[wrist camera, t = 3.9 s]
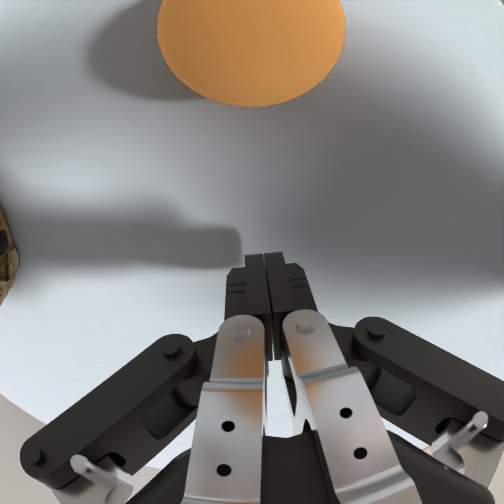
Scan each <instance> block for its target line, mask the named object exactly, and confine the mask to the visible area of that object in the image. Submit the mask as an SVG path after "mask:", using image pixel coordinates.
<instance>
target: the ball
mask: <svg viewBox="0 0 504 504" xmlns="http://www.w3.org/2000/svg"><path fill="white" fill-rule="evenodd" d="M345 33H346V24H345V16H344V11H343V8H342V5H341V3H340V0H163V1H162V4H161V6H160V10H159V14H158V19H157V38H158V43H159V47H160V50H161V53H162V55H163V58H164V60H165V62H166V64H167V65H168V67H169V68H170V69H171V71H172V72H173V73H174V74H175V75H176V77H177V78H178V79H179V80H180V81H181V82H183V83H184V84H185V85H186V86H188V87H189V88H190V89H192V90H193V91H195V92H196V93H198V94H200V95H202V96H204V97H206V98H208V99H210V100H213V101H216V102H219V103H223V104H227V105H232V106H240V107H262V106H271V105H275V104H280V103H283V102H286V101H289V100H292V99H294V98H296V97H298V96H300V95H302V94H304V93H306V92H307V91H309V90H311V89H312V88H314V87H315V86H316V85H317V84H319V83H320V82H321V81H322V80H323V79H324V78H325V77H326V76H327V75H328V74H329V73H330V71H331V70H332V68H333V67H334V65H335V64H336V62H337V61H338V58H339V56H340V54H341V52H342V49H343V45H344V41H345Z"/></svg>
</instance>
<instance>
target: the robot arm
mask: <svg viewBox="0 0 504 504" xmlns="http://www.w3.org/2000/svg"><path fill="white" fill-rule="evenodd" d="M264 264H265V266H264ZM272 344H273V352H274V360H281V363H282V379H283V384H284V388H285V392H286V396H287V400H288V405H289V409H290V413H291V417H292V422H293V432H294V436H293V437H289V438H280V437H272V436H267V377H268V374H269V367H268V361H273V354H272ZM385 371H386V372H385ZM390 374H391V375H390ZM397 378H398V379H397ZM404 382H405V383H404ZM409 385H410V386H409ZM380 416H381V417H383V418H384V419H386V420H387V421H389V422H391V423H392V424H394V425H396V426H397V427H399V428H401V429H402V430H404V431H406V432H407V433H409V434H411V435H413V436H414V437H416V438H418V439H419V440H421V441H423V442H425V443H426V444H428V445H430V446H432V447H431V451H432V455H431V456H430V455H429V454H427V453H425V452H424V451H422V450H421V449H419V448H417V447H416V446H414V445H413V444H411V443H410V442H408V441H406V440H405V439H403V438H402V437H400V436H399V435H397V434H395V433H393V432H391V431H389V430H386V429H385V426H384V424H383V421H382V419H381V417H380ZM195 419H196V424H195V430H194V436H193V442H192V448H190V449H188V450H186V451H184V452H183V453H181V454H179V455H178V456H177V457H175V458H174V459H173V460H172V461H171V462H170V463H169V464H168V465H167V466H166V467H165V468H163V469H162V470H161V471H160V472H159V473H158V474H157V475H156V476H155V477H154V478H153V479H152V480H151V481H150V482H149V483H148V484H147V485H145V486H144V487H143V488H142V489H141V490H140V491H139V492H138V493H137V494H135V496H133V497H132V498H131V499H130V500H129V501H127V502H126V503H125V501H126V500H127V499H128V498H129V497H130V495H131V494H132V491H133V480H132V477H131V476H132V475H134V474H135V473H136V472H137V471H138V470H140V469H141V468H142V467H143V466H144V465H146V464H147V463H148V462H149V461H150V460H151V459H152V458H154V457H155V456H156V455H157V454H158V453H159V452H160V451H162V450H163V449H164V448H165V447H166V446H167V445H168V444H169V443H170V442H171V441H173V440H174V439H175V438H176V437H177V436H178V435H179V434H180V433H181V432H182V431H183V430H184V429H185V428H186V427H188V426H189V425H190V424H191V423H192V422H193V421H194V420H195ZM503 451H504V381H502V380H500V379H499V378H497V377H495V376H493V375H491V374H489V373H487V372H485V371H483V370H481V369H479V368H478V367H476V366H474V365H472V364H470V363H468V362H466V361H464V360H462V359H460V358H458V357H457V356H455V355H453V354H451V353H449V352H447V351H445V350H443V349H441V348H439V347H437V346H436V345H434V344H432V343H430V342H428V341H426V340H424V339H422V338H420V337H418V336H416V335H414V334H413V333H411V332H409V331H407V330H405V329H403V328H401V327H399V326H397V325H395V324H393V323H391V322H390V321H388V320H386V319H383V318H380V317H366V318H364V319H362V320H360V321H359V322H358V323H357V324H356V326H355V328H352V327H342V326H336V325H333V324H331V323H328V322H327V320H326V318H325V317H324V316H323V315H322V314H320V313H319V312H318V310H317V307H316V304H315V301H314V298H313V295H312V292H311V289H310V287H309V283H308V280H307V277H306V275H305V272H304V269H302V268H301V267H300V266H299V265H298V264H297V263H291V264H285V260H284V257H283V253H282V252H275V253H264V259H263V254H251V255H245V267H243V268H232V270H231V271H230V272H229V274H228V275H227V282H226V298H225V316H224V322H223V323H222V324H221V325H220V327H219V330H218V332H217V333H216V334H214V335H213V336H211V337H209V338H206V339H203V340H200V341H196V342H193V341H192V340H191V339H190V338H189V337H187V336H185V335H182V334H170V335H166V336H163V337H161V338H160V339H158V340H157V341H155V342H154V343H153V344H152V345H150V346H149V347H148V348H146V349H145V350H144V351H143V352H141V353H140V354H139V355H138V356H136V357H135V358H134V359H132V360H131V361H130V362H128V363H127V364H126V365H125V366H123V367H122V368H121V369H119V370H118V371H117V372H116V373H114V374H113V375H112V376H110V377H109V378H108V379H107V380H105V381H104V382H103V383H101V384H100V385H99V386H97V387H96V388H95V389H93V390H92V391H91V392H90V393H88V394H87V395H86V396H84V397H83V398H82V399H80V400H79V401H78V402H76V403H75V404H74V405H73V406H71V407H70V408H69V409H67V410H66V411H65V412H63V413H62V414H61V415H59V416H58V417H57V418H55V419H54V420H53V421H51V422H50V423H49V424H47V425H46V426H45V427H43V428H42V429H41V430H39V431H38V432H37V433H35V434H34V435H33V436H31V437H30V438H29V439H27V441H25V443H24V444H23V446H22V448H21V451H20V462H21V465H22V467H23V469H24V470H25V472H26V473H27V474H28V475H30V476H31V477H33V478H35V479H37V480H38V481H40V482H42V483H44V484H45V485H46V486H48V487H49V488H50V489H51V490H52V491H53V493H54V494H55V496H56V497H57V499H58V500H59V502H60V503H61V504H124V503H125V504H495V500H494V498H493V495H492V494H491V492H490V491H489V490H488V489H487V488H488V486H489V484H490V482H491V480H492V478H493V475H494V473H495V471H496V468H497V466H498V463H499V461H500V459H501V456H502V453H503Z"/></svg>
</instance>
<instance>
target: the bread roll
mask: <svg viewBox="0 0 504 504" xmlns="http://www.w3.org/2000/svg"><path fill="white" fill-rule="evenodd" d="M18 266H19V255H18V253H17V251H16V248H15V246H14V243H13V241H12V238H11V235H10V231H9V227H8V224H7V222H6V219H5V217H4V214H3V212H2V210H1V207H0V306H1V304H2V302H3V300H4V298H5V297H6V295H7V294H8V291H9V289H10V288H11V287H12V286H13V283H14V277H15V273H14V271H15V270H16V269H17V268H18Z"/></svg>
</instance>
